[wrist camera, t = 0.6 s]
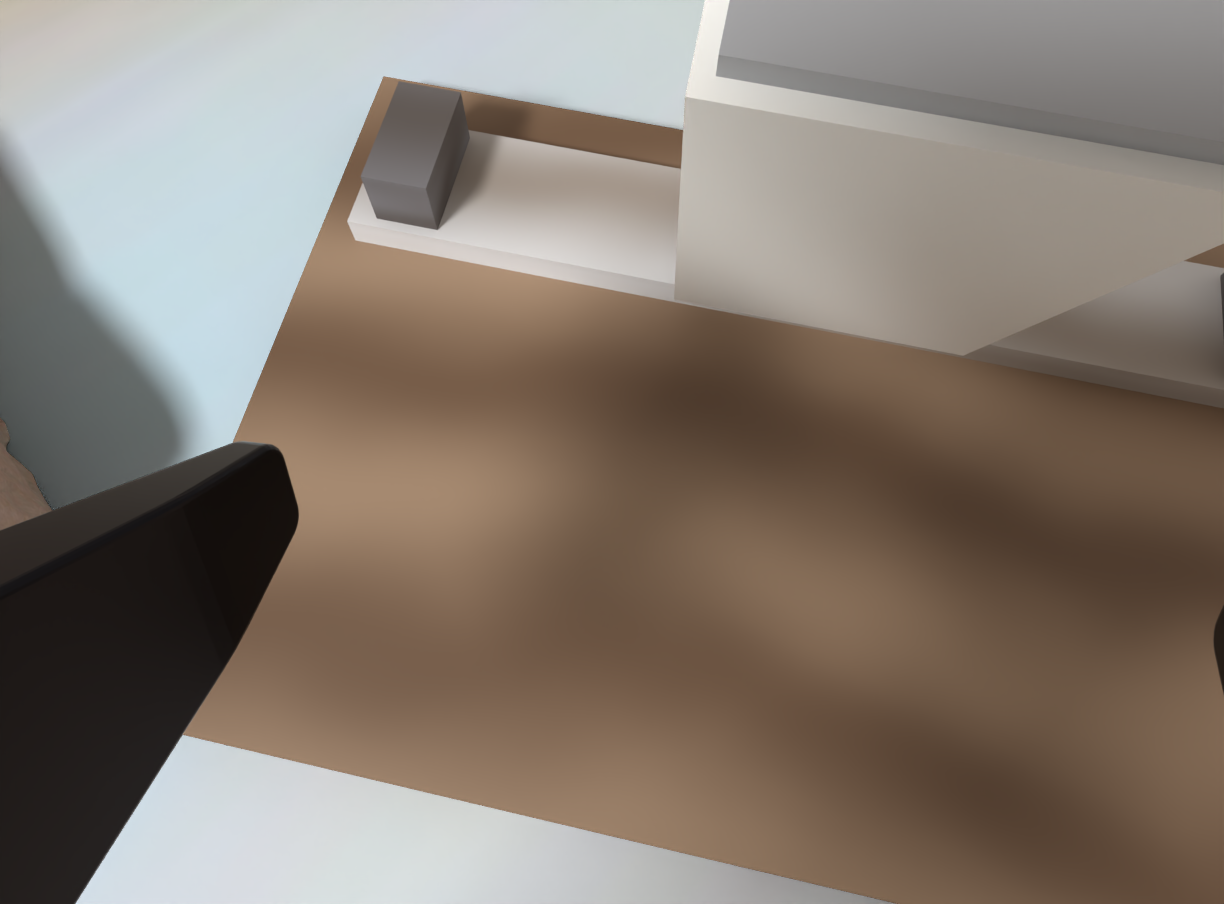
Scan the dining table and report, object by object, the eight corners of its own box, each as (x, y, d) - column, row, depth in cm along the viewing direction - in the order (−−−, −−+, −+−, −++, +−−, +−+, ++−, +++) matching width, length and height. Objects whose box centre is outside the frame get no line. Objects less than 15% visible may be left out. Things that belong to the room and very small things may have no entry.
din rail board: (1356, 1010, 17) (1536, 1061, 14) (146, 724, 19) (50, 708, 16) (1290, 270, 24) (1401, 186, 21) (392, 107, 26) (361, 4, 22)
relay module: (963, 355, 20) (1342, 192, 9) (673, 299, 21) (685, 75, 9) (1009, 123, 21) (1441, -330, 9) (720, 72, 21) (789, -418, 10)
